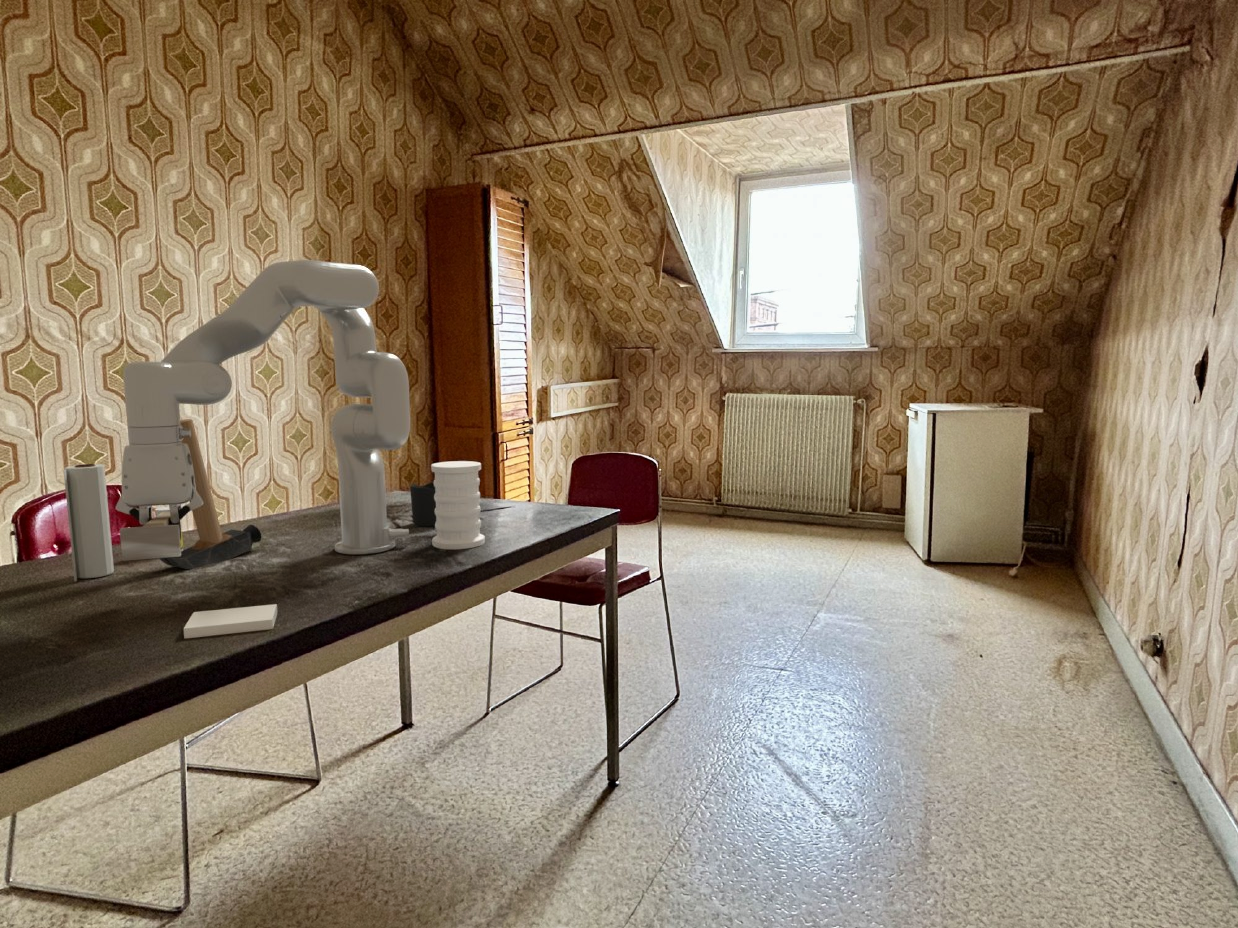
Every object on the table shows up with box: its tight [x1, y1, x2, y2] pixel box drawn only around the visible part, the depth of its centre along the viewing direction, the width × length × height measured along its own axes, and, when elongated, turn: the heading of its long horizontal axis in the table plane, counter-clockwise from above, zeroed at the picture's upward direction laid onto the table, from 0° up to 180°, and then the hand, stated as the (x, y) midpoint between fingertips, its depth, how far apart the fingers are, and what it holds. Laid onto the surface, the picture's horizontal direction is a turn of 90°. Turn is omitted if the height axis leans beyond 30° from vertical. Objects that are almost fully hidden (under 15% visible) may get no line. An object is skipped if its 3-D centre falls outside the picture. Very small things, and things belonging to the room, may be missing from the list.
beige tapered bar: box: [119, 511, 181, 561], centre depth 127 cm, size 15×8×5 cm, turn 19°
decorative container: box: [430, 460, 486, 550], centre depth 170 cm, size 12×12×18 cm
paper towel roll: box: [63, 463, 115, 582], centre depth 145 cm, size 7×6×21 cm
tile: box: [183, 603, 278, 640], centre depth 118 cm, size 12×2×8 cm
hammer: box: [158, 418, 262, 570], centre depth 153 cm, size 20×5×30 cm, turn 153°
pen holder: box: [409, 481, 436, 528], centre depth 192 cm, size 9×9×10 cm
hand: (163, 544), depth 128 cm, fingers closed on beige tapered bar, 2 cm apart
